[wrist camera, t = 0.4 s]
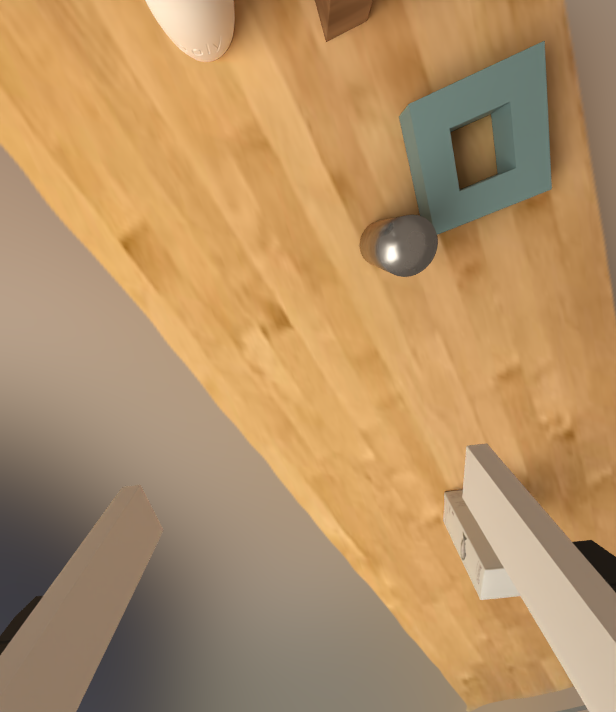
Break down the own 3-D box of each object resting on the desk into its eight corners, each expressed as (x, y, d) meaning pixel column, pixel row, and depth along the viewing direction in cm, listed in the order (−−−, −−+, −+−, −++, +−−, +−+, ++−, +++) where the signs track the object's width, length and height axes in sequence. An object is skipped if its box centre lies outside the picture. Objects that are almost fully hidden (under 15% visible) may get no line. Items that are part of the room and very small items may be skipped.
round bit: (354, 230, 33) (372, 228, 24) (395, 213, 33) (431, 204, 23) (366, 271, 35) (387, 285, 26) (406, 256, 35) (442, 264, 25)
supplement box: (442, 490, 50) (484, 569, 38) (486, 486, 49) (542, 564, 38) (441, 520, 52) (479, 601, 41) (482, 516, 52) (533, 597, 40)
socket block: (398, 116, 29) (408, 104, 26) (520, 60, 28) (544, 40, 25) (424, 235, 34) (434, 235, 31) (530, 193, 32) (551, 189, 29)
